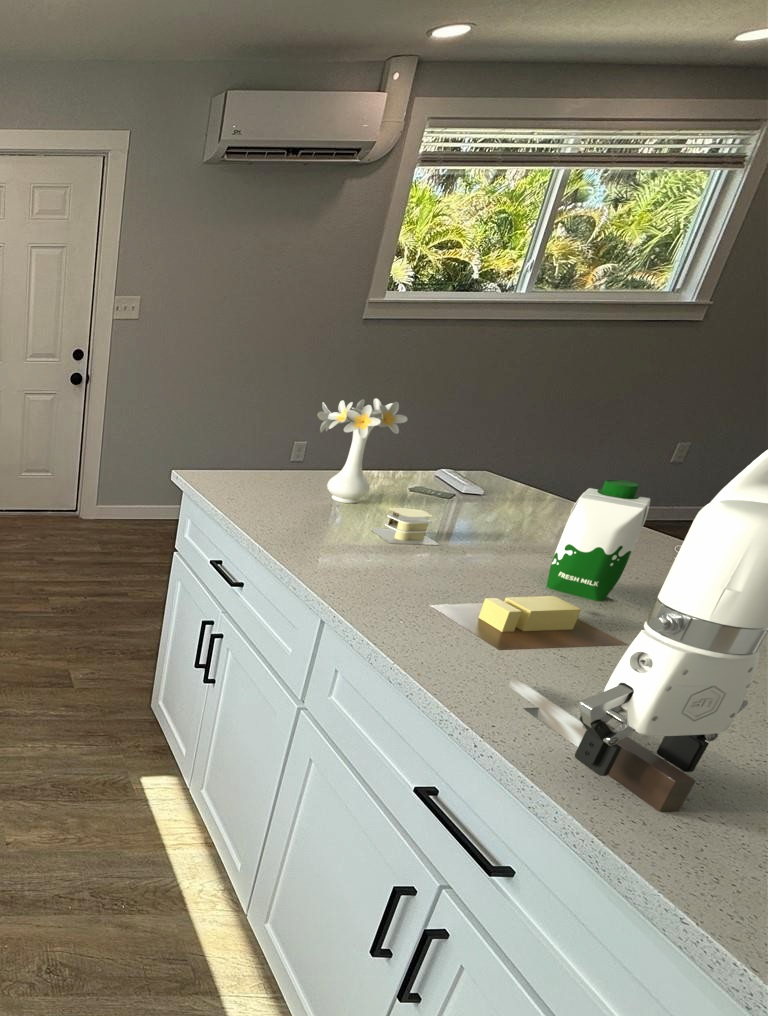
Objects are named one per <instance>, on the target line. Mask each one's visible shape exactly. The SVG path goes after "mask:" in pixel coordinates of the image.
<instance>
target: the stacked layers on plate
mask: <svg viewBox="0 0 768 1016" xmlns="http://www.w3.org/2000/svg"><path fill="white" fill-rule="evenodd" d="M388 510H389V511H391V512H389V513H388V514H387V517H388V520H387V521H386V522H385V523H384V526H386V527H387V528H379V527H378V528H376V527H375V528H371V527H369V530H371V531H372V532H373V533H374V534H376V535H377V536H378V537H380V538H381V539H383V541H386V542H387V543H388V544H396V545H397V544H400V545H401V544H402V545H428V546H430V545H432V546H440V545H441V544H440V543H439V542H437V541H435V540H433V538H430V537H429V536H427V533H429V532H430V530H428V526H429V524H432V520H429V519H428V518H429V517H433V515H432V514H431V513H429V512H427V511H425V510H423V509H416V508H415V509H414V508H405V507H390V508H389V509H388ZM426 517H427V518H426Z"/></svg>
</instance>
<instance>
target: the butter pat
mask: <svg viewBox="0 0 768 1016" xmlns="http://www.w3.org/2000/svg"><path fill="white" fill-rule="evenodd" d="M504 601H505V600H502V599H500V598H498V597H486V598H484V601H483V602H482V603H483V606H482V609H481V612H480V615H479V618H480V619H481V620H483V621H485V622H486V623H488V624H490V625H491V626H493V627H495V628H496V629H498V630H500V631H501V632H514V630H515V628H516V625H517V623H518V620H519V617H520V615H521V612H522V611H520V610H518V609H516V608H515V607H513V606H511V605H509V604H507V603H505V602H504Z"/></svg>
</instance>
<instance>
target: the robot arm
mask: <svg viewBox="0 0 768 1016" xmlns="http://www.w3.org/2000/svg"><path fill="white" fill-rule="evenodd" d="M643 628H644V629H641V630H640V632H639V633H638V634H637V635H636V637H635V638H634V639H633V641H632V642H631V643H630V645H628V647H627V649H626V650H625V652H624V654H623V655H622V657H621V658H620V660H619V662H618V663H617V665H616V666H615V668H614V670H613V671H612V673H611V675H610V677H609V679H608V681H607V683H606V685H605V688H604V689H603V691H601V692H600V693H597V694H595V695H593V696H590V697H588V698H585V699H583V700H581V702H579V704H578V706H579V714H580V717H579V720H580V721H581V722H582V724H583V728H584V729H585V730H586V732H585V734H584V736H583V738H582V740H581V742H580V744H579V747H577V749H576V751H575V754H574V757H575V759H576V760H577V761H578V762H580V763H581V764H582V765H584V766H585V767H586V768H588V769H589V770H591V771H592V772H594V773H595V774H596V775H598V777H607V776H609V775H608V774H609V772H610V770H611V768H612V766H613V764H614V762H615V760H616V758H617V756H618V754H619V752H620V750H621V748H622V747H621V746H619V745H618V744H617V743H619V742H620V741H621V740H623V739H624V738H626V737H629V736H630V735H631V734H633V733H634V732H636V733H638V734H639V735H640V736H645V737H663V739H662V740H661V742H660V744H659V746H658V748H657V750H656V755H657V756H658V757H660V758H661V759H663V760H665V761H666V762H668V763H669V764H671V765H672V766H674V767H675V768H677V769H679V770H680V771H682V772H683V773H692V772H694V771H695V769H696V767H697V765H698V764H699V762H700V760H701V759H702V757H703V755H704V753H705V751H706V750H707V748H708V746H709V744H710V742H714V741H716V740H717V739H718V737H719V734H721V733H723V732H725V731H727V730H728V729H729V728H730V727H731V726H732V724H733V722H734V721H735V719H736V717H737V715H738V714H739V713H740V712H741V711H743V710H744V709H745V708H746V707H747V706H748V704H749V701H747V700H746V699H745V698H746V697H747V694H748V692H749V689H750V687H751V685H752V682H753V680H754V677H755V674H756V671H757V667H758V664H759V660H760V652H761V649H760V647H761V645H762V643H763V642H764V640H765V638H766V636H767V635H768V449H767V450H765V451H764V452H762V453H761V454H760V455H759V456H758V457H756V458H755V459H754V460H753V461H752V462H751V463H750V464H748V465H747V466H746V467H745V468H744V469H742V470H741V472H739V473H738V474H737V475H735V477H734V478H733V479H731V480H730V481H729V482H728V483H727V484H726V485H725V486H724V487H723V488H721V490H720V491H719V492H718V493H717V494H716V495H715V496H714V497H713V498H712V499H711V500H710V502H709V503H707V504H706V505H704V506H703V507H702V508H701V509H700V510H699V511H698V512H697V514H696V515H695V517H694V519H693V521H692V524H691V525H690V527H689V529H688V532H687V534H686V536H685V537H684V540H683V542H682V544H681V546H680V548H679V551H678V553H677V555H676V557H675V558H674V561H673V562H672V565H671V567H670V570H669V572H668V573H667V575H666V578H665V580H664V582H663V585H662V587H661V589H660V591H659V592H658V595H657V596H656V599H655V602H654V603H653V605H652V607H651V609H650V611H649V614H648V615H647V617H646V620H645V622H644V624H643ZM621 713H626V714H627V715H626V716H627V717H626V716H625V715H623V714H621ZM612 719H613V720H615V721H617V722H618V723H620V724H619V725H618V726H617V727H616V728H615V729H614V730H613V731H611V730H610V728H609V727H608V726H607V724H608V722H609V721H610V720H612Z"/></svg>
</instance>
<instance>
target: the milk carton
mask: <svg viewBox="0 0 768 1016" xmlns="http://www.w3.org/2000/svg"><path fill="white" fill-rule="evenodd" d="M639 486H640V485H639V484H638V483H635V482H632V481H628V480H621V479H606V480H604V483H603V485H602V488H598V489H596V488H592V487H588V488H587V489H586V490H585V491H584V492H583V493H582V494H581V495H580V496H579V498H578V499H577V500H576V502H575V503H574V505H573V506H572V509H571V510H570V513H569V514H570V515H569V517H568V519H567V522H566V524H565V526H564V529H563V532H562V534H561V536H560V539H559V542H558V544H557V547H556V549H555V552H554V555H553V557H552V560H551V563H550V567H549V572H548V576H547V582H546V586H545V587H546V588H548V589H549V590H552V591H556V592H560V593H565V594H568V595H572V596H576V597H580V598H584V599H587V600H592V601H594V602H604V601H605V600H606V599H607V597H608V596H609V595H610V593H611V592H612V590H613V589H614V588H615V586H616V585H617V583H618V582H619V580H620V579H621V577H622V575H623V573H624V571H625V569H626V566H627V565H628V562H629V560H630V557H631V555H632V553H633V550H634V548H635V546H636V544H637V542H638V539H639V538H640V536H641V535H640V534H641V532H642V529H643V527H644V525H645V522H646V520H647V517H648V514H649V509H650V504H651V498H650V497H645V496H640V495H636V494H637V492H638V489H639Z"/></svg>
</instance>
